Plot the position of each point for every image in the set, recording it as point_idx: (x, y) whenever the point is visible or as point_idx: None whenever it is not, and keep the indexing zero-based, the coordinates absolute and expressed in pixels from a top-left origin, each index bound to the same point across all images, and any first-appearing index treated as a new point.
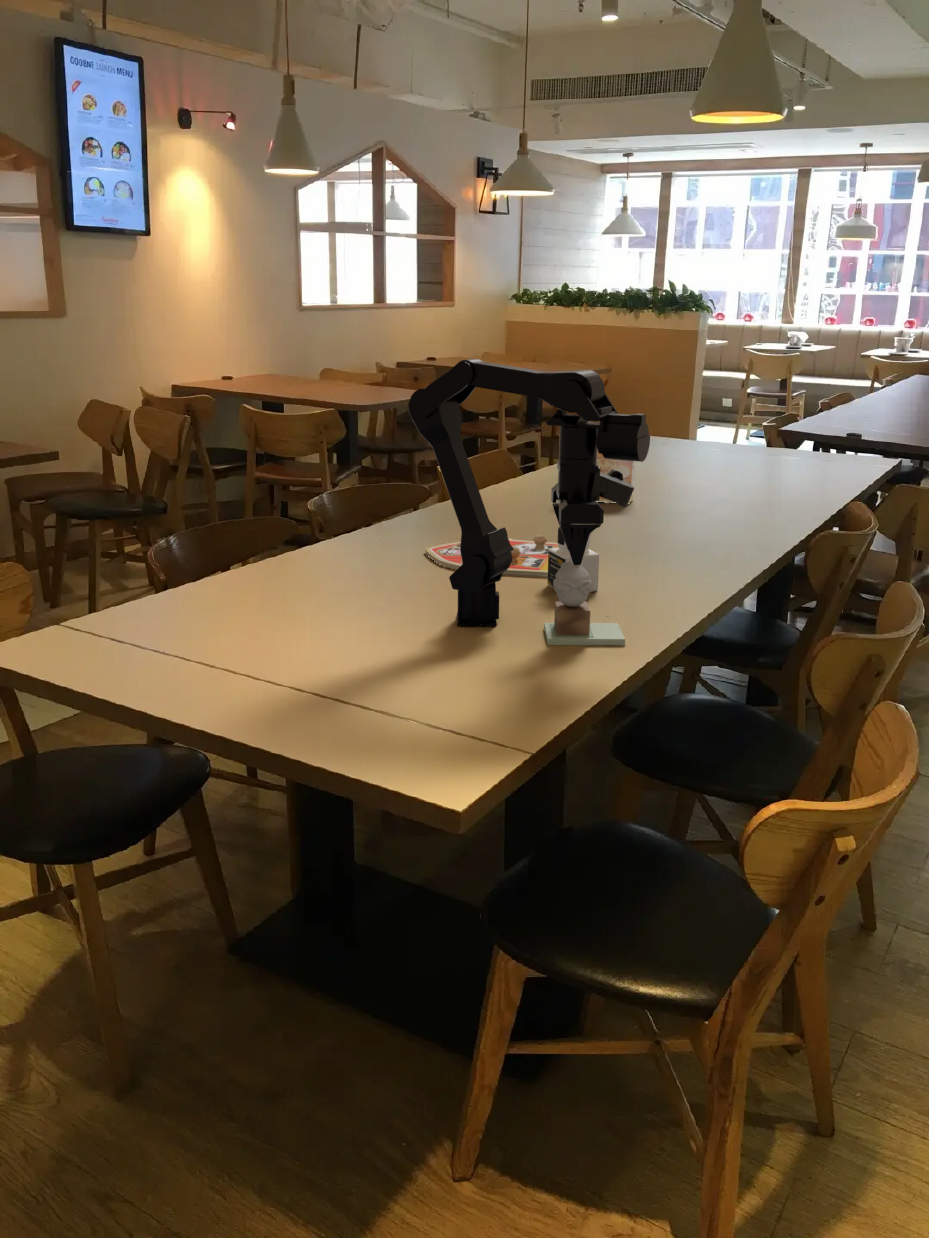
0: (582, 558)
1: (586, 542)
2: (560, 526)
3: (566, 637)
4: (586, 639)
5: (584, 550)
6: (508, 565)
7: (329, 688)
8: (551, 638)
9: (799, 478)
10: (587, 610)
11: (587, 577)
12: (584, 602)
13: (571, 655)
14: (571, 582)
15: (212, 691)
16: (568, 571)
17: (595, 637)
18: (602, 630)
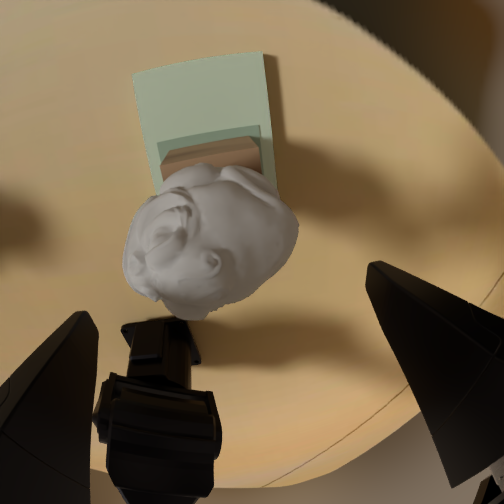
0: (404, 272)
1: (485, 314)
2: (89, 451)
3: None
4: (271, 141)
5: (443, 291)
6: (130, 397)
7: (400, 383)
8: None
9: None
10: (255, 155)
11: (240, 193)
12: (170, 170)
13: (335, 169)
14: (292, 246)
15: (385, 421)
16: (251, 279)
17: (259, 120)
18: (199, 105)
